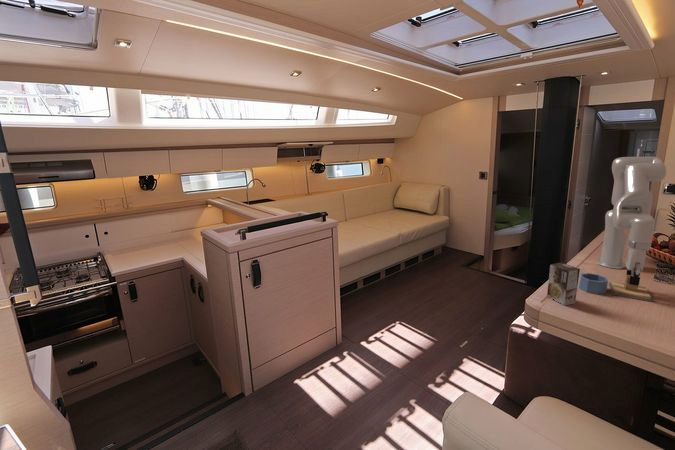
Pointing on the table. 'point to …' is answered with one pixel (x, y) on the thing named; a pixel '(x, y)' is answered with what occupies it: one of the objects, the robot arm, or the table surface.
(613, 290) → the charcoal mat
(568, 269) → the coffee box
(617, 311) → the table surface
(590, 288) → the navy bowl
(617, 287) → the oak lid
